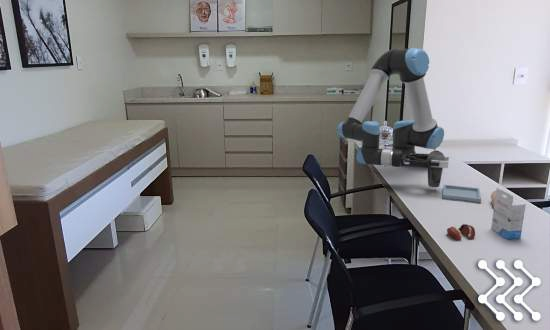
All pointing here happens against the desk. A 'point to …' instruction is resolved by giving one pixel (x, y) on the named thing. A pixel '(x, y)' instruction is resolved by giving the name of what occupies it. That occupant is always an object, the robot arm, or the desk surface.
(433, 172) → the beverage cup
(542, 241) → the desk surface
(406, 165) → the robot arm
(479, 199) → the tray
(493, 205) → the brown egg
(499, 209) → the ink box
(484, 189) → the desk surface
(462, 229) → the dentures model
